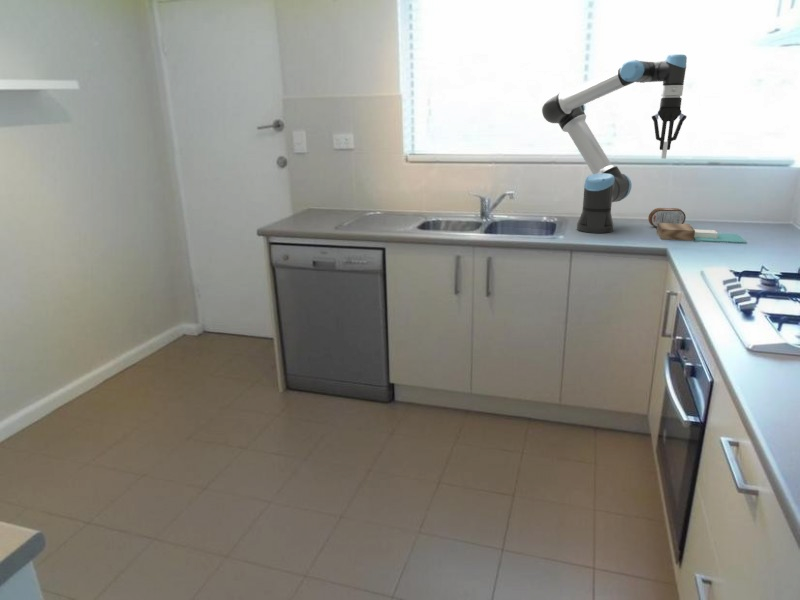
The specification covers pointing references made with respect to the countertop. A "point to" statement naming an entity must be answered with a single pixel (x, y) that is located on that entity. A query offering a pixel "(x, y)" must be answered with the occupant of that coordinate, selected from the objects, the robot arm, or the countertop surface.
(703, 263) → the countertop surface
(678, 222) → the tin
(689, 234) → the brown wooden block
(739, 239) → the mat
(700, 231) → the white rectangular block
